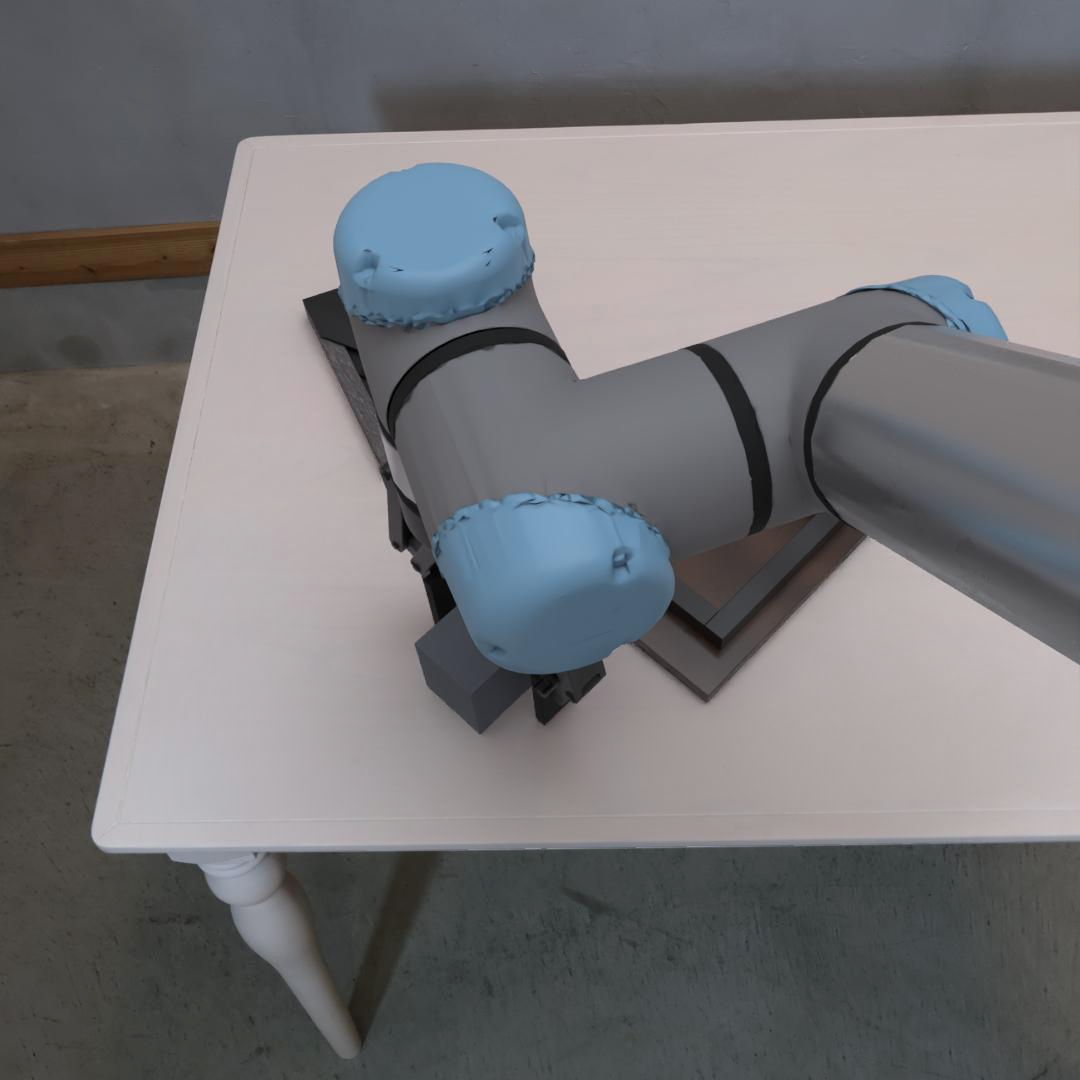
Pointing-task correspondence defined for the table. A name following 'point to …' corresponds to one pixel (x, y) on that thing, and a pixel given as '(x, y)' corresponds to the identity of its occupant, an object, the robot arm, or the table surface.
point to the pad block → (467, 673)
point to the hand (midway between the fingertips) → (503, 661)
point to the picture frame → (345, 361)
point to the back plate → (743, 597)
